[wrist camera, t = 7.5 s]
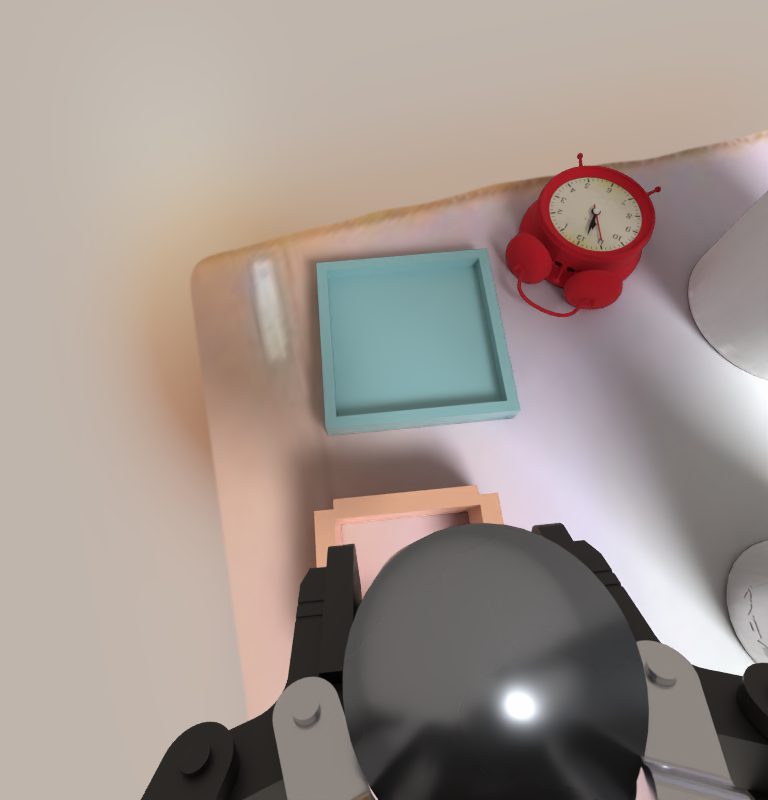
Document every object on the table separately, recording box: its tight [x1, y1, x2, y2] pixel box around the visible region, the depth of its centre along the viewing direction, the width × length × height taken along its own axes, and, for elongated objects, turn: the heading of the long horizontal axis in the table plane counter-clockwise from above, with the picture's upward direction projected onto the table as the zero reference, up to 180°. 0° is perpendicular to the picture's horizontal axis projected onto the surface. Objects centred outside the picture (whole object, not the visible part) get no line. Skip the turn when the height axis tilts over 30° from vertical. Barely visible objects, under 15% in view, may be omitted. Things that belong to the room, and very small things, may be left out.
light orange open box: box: [314, 485, 504, 568], centre depth 28 cm, size 11×11×4 cm
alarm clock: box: [506, 153, 661, 317], centre depth 37 cm, size 10×6×15 cm
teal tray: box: [316, 248, 520, 436], centre depth 35 cm, size 14×14×2 cm
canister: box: [343, 523, 649, 800], centre depth 13 cm, size 5×5×11 cm
